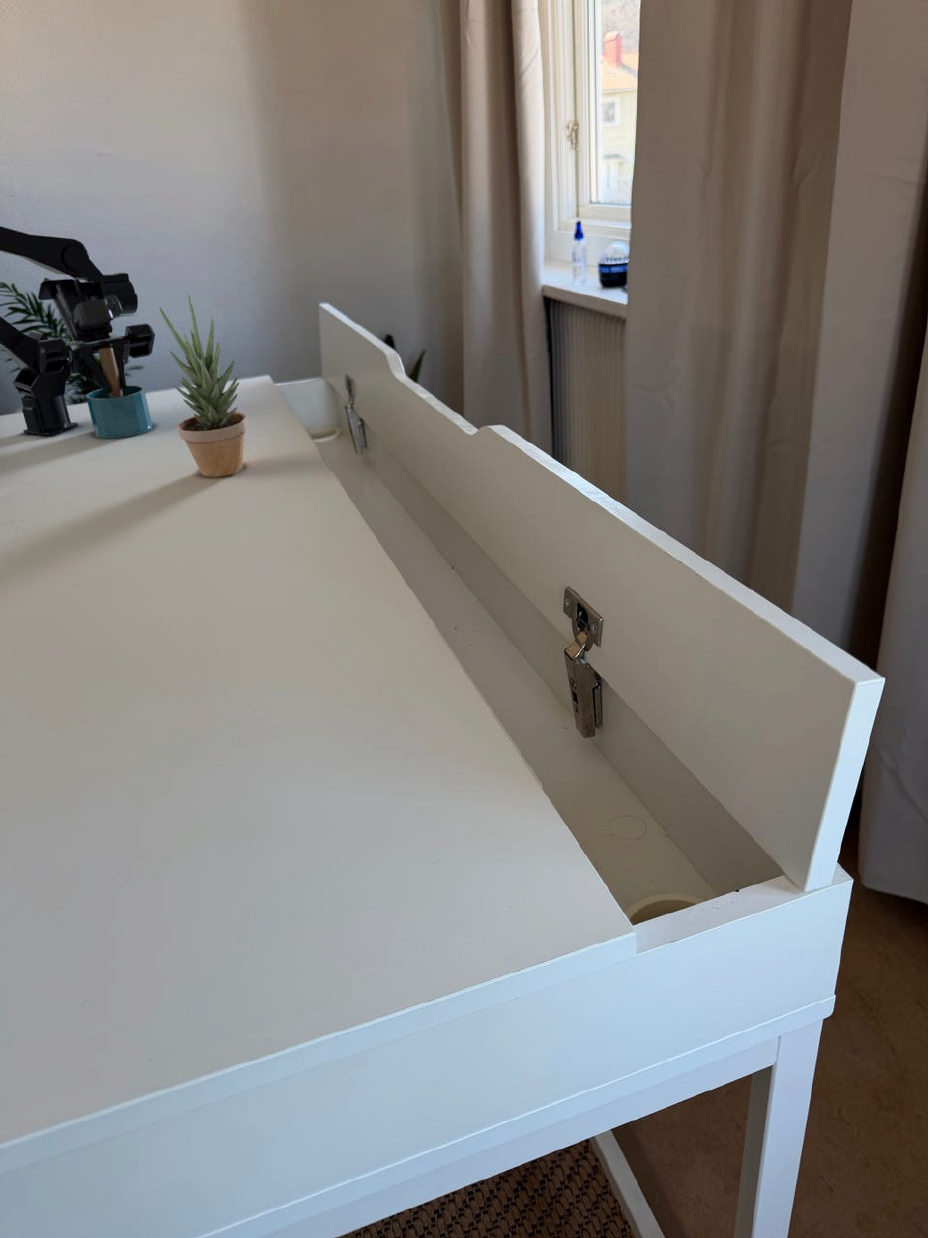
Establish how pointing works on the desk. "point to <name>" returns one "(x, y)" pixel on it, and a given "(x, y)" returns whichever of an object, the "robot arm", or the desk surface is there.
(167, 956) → the desk surface
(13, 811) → the desk surface
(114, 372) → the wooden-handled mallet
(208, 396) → the potted plant
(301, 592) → the desk surface
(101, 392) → the teal paint pail
